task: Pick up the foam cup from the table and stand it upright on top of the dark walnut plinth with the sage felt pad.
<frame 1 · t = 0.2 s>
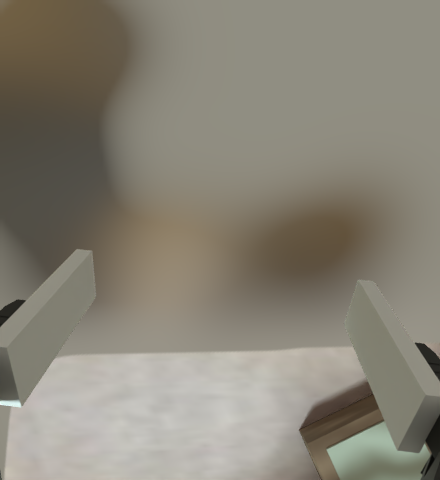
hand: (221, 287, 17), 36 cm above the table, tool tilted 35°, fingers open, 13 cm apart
walnut plinth: (370, 454, 48), on the table
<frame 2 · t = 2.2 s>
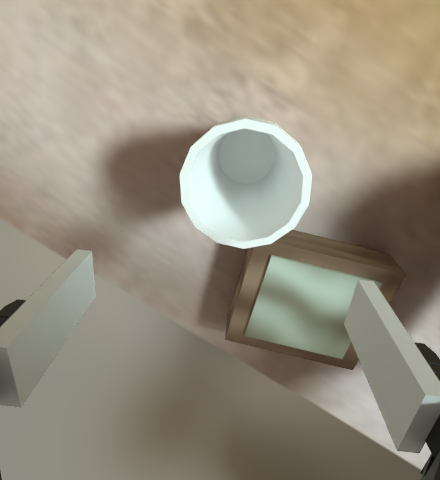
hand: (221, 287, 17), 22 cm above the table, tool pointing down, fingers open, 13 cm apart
walnut plinth: (302, 286, 42), on the table
foam cup: (246, 154, 36), on the table
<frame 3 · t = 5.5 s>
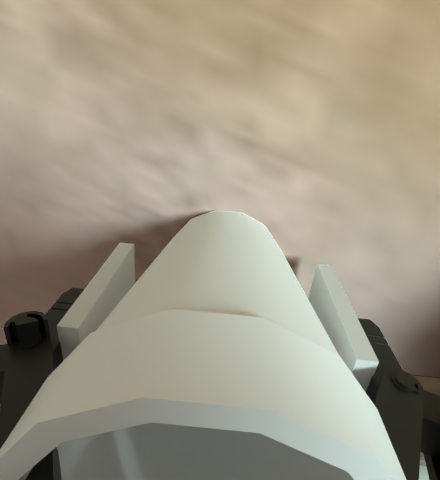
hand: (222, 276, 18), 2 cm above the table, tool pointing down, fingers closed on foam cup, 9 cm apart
walnut plinth: (352, 439, 25), on the table
foam cup: (224, 259, 19), on the table, touching gripper
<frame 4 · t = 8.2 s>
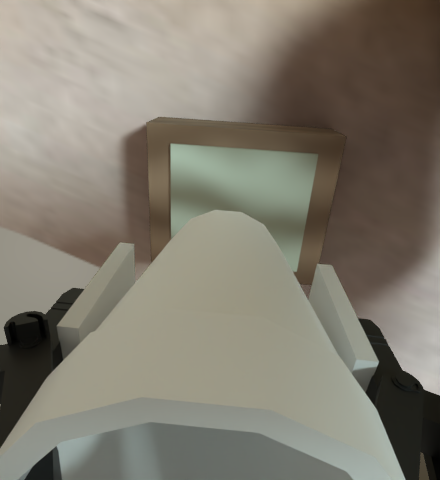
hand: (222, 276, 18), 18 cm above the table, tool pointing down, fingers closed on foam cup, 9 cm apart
walnut plinth: (238, 195, 34), on the table
foam cup: (224, 259, 19), point 16 cm above the table, touching gripper
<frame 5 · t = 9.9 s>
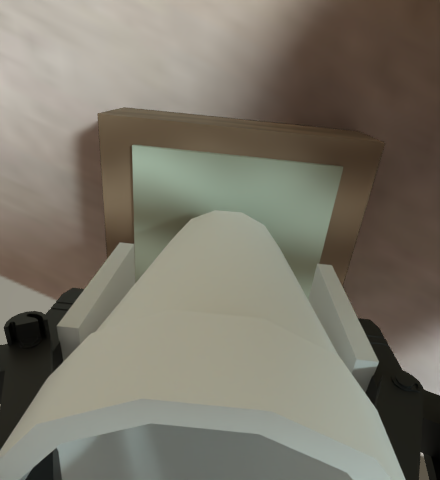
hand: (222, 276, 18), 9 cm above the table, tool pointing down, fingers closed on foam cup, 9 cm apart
walnut plinth: (230, 214, 26), on the table
foam cup: (224, 260, 19), point 7 cm above the table, touching gripper
when the fingers open (8 cm above the table, at t = 11.0 s): foam cup drops 1 cm, resting on walnut plinth.
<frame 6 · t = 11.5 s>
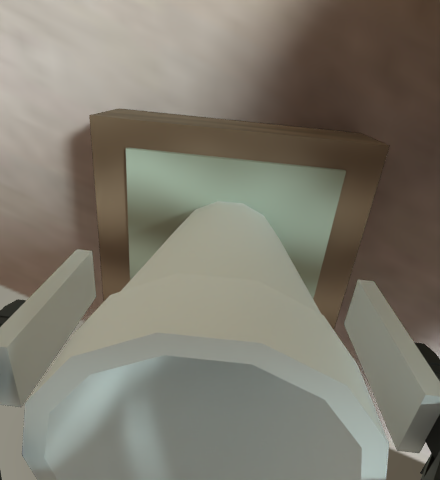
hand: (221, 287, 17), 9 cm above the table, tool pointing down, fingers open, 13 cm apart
walnut plinth: (228, 219, 25), on the table
foam cup: (226, 248, 21), point 5 cm above the table, touching walnut plinth
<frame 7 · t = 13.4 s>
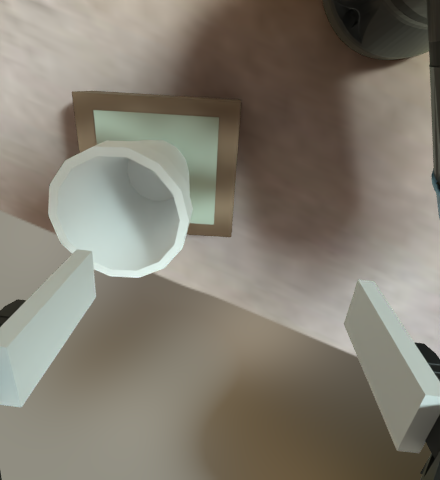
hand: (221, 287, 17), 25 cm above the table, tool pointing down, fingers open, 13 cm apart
walnut plinth: (166, 161, 39), on the table
foam cup: (158, 170, 34), point 5 cm above the table, touching walnut plinth
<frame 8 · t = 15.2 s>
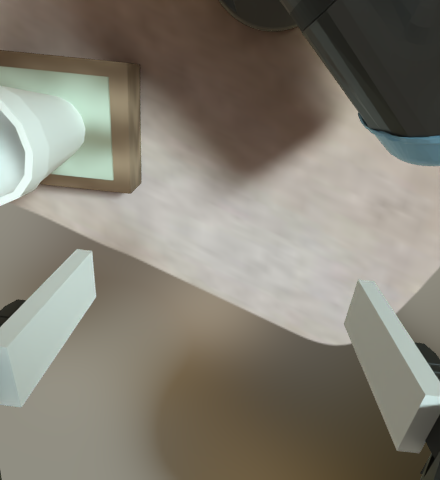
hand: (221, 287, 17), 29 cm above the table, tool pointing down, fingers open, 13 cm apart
walnut plinth: (76, 121, 42), on the table
foam cup: (58, 126, 37), point 5 cm above the table, touching walnut plinth
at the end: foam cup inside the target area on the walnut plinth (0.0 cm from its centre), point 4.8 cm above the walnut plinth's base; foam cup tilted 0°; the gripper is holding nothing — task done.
